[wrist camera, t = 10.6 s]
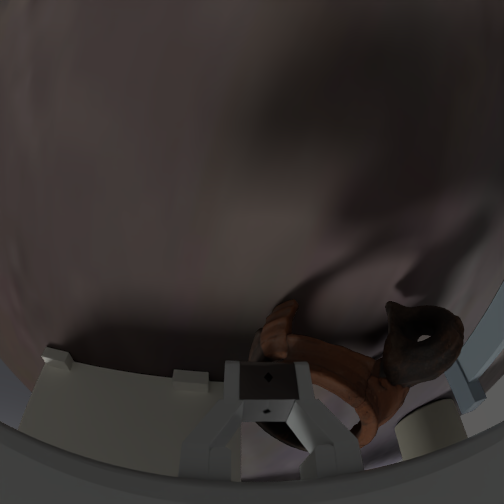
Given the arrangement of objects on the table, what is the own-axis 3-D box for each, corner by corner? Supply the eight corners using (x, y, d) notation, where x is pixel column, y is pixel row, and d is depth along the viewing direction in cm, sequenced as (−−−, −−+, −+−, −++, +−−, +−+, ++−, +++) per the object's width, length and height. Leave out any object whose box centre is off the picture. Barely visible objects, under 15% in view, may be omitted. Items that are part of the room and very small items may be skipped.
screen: (240, 400, 21) (239, 519, 13) (61, 374, 20) (28, 469, 12) (242, 373, 19) (242, 515, 10) (43, 346, 18) (-1, 449, 10)
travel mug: (389, 435, 29) (412, 552, 14) (400, 411, 25) (433, 554, 10) (442, 416, 28) (472, 525, 13) (461, 388, 24) (503, 517, 9)
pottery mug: (338, 384, 21) (296, 469, 15) (263, 299, 21) (192, 373, 15) (477, 324, 14) (487, 433, 7) (401, 199, 14) (391, 268, 8)
